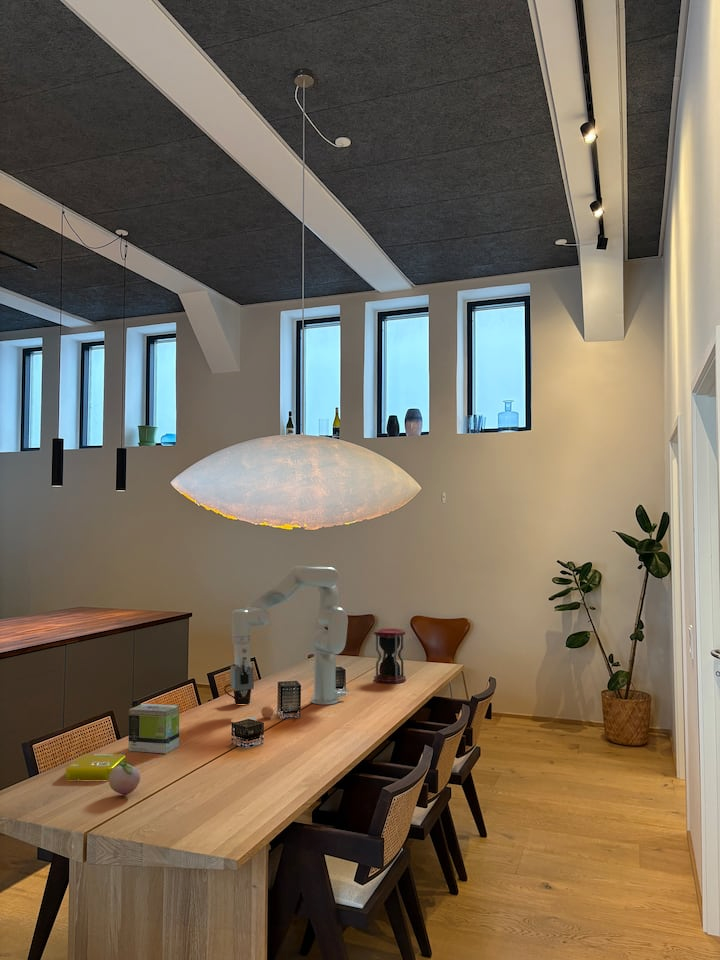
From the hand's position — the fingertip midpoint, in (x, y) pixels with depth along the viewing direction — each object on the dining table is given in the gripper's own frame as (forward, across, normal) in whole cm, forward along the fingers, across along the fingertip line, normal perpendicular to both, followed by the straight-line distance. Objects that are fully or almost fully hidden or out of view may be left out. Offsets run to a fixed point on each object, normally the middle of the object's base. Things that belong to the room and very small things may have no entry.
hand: (242, 681), depth 313 cm
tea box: (+13, -33, +40) cm, 54 cm away
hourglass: (+17, +37, -84) cm, 93 cm away
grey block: (+3, 0, 0) cm, 3 cm away
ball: (+11, -9, -8) cm, 17 cm away
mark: (+14, -9, +2) cm, 16 cm away
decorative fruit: (+12, -77, +54) cm, 95 cm away
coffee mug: (+14, +20, -3) cm, 24 cm away
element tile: (+12, -52, +60) cm, 81 cm away
